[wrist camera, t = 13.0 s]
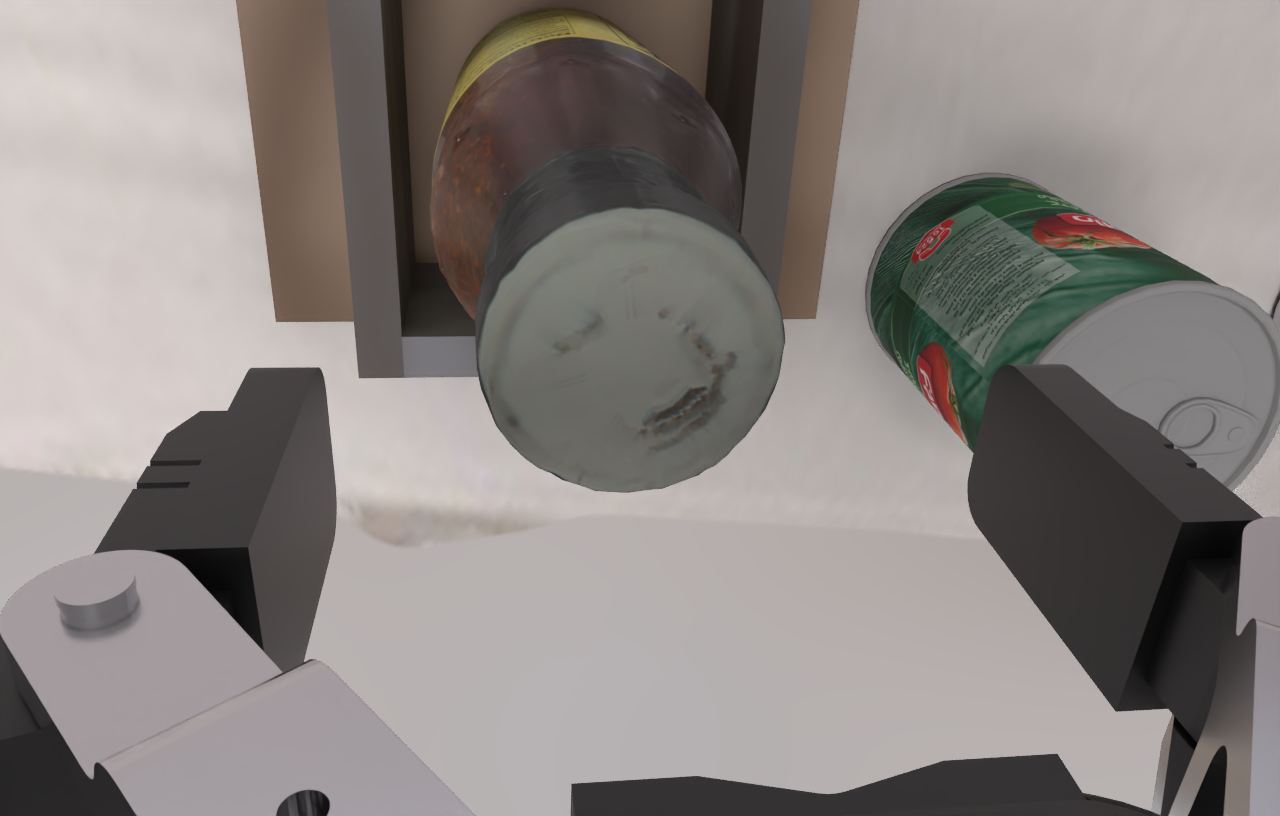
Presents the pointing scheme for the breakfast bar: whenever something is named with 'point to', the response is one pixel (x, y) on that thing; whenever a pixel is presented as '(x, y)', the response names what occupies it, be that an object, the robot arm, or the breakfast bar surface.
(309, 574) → the robot arm
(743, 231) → the bottle holder
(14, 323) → the breakfast bar surface
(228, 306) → the breakfast bar surface
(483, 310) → the sauce bottle
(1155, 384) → the canned tomato
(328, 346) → the breakfast bar surface
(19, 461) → the breakfast bar surface
